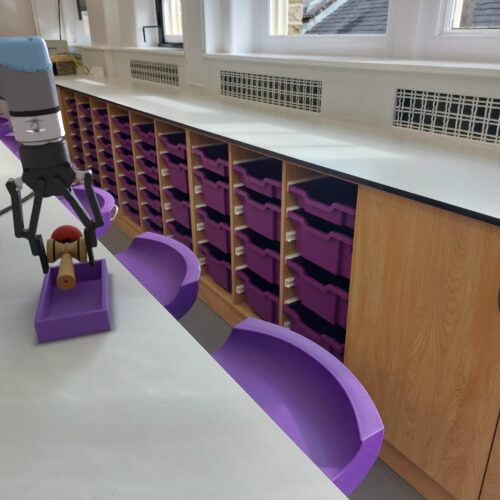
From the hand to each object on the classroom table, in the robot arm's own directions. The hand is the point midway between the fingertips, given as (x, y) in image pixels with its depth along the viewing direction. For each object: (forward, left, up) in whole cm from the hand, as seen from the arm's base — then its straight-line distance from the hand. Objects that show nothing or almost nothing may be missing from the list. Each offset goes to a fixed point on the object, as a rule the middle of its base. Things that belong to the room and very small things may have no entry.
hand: (69, 266), depth 88 cm
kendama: (0, 0, -1) cm, 1 cm away
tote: (0, 0, -9) cm, 9 cm away
